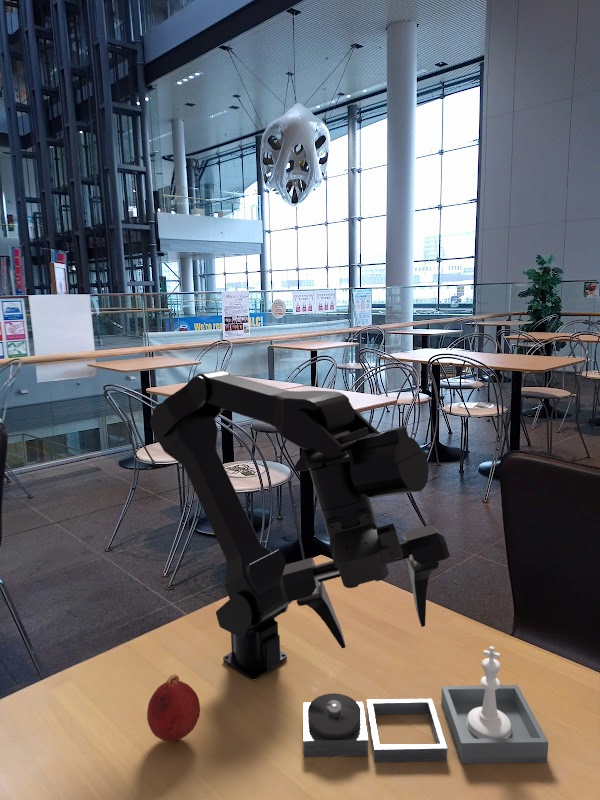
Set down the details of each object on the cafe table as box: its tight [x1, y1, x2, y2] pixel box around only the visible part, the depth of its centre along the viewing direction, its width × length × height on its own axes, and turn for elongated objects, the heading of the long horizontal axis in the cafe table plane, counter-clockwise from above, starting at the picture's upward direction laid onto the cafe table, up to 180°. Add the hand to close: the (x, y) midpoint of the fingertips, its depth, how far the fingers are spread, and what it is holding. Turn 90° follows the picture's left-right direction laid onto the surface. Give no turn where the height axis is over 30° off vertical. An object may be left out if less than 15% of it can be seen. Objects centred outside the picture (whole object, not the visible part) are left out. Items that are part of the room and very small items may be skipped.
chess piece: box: [467, 645, 512, 739], centre depth 67 cm, size 5×5×10 cm
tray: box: [440, 684, 549, 765], centre depth 68 cm, size 9×9×2 cm
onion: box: [146, 674, 201, 743], centre depth 67 cm, size 6×6×8 cm
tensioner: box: [303, 693, 448, 763], centre depth 68 cm, size 15×8×4 cm, turn 90°
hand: (383, 636), depth 67 cm, fingers open, 9 cm apart
